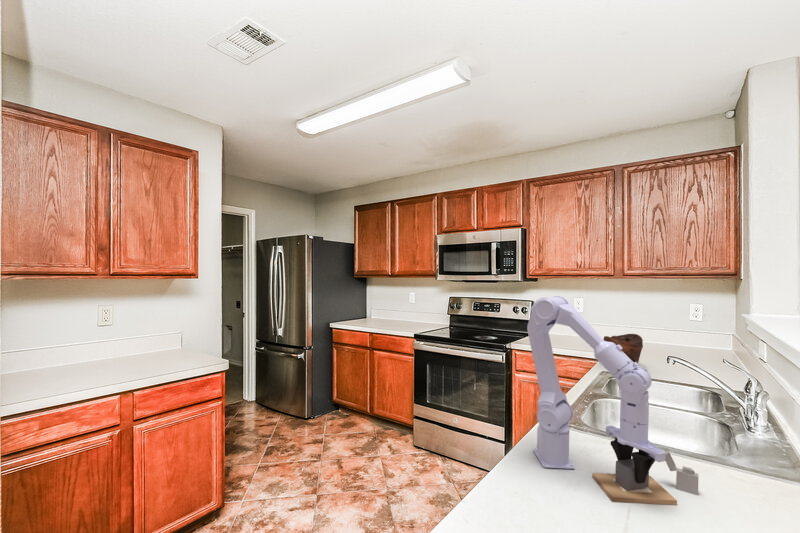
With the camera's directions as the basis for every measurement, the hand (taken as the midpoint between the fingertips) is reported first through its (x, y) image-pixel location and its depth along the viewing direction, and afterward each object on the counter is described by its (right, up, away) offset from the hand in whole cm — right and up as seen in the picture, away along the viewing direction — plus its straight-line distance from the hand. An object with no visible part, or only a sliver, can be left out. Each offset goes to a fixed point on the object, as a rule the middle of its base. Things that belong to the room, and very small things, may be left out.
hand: (632, 477), depth 91 cm
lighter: (+12, -4, +1) cm, 13 cm away
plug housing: (0, -2, 0) cm, 2 cm away
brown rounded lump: (+61, -4, +110) cm, 125 cm away
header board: (0, -3, 0) cm, 3 cm away
